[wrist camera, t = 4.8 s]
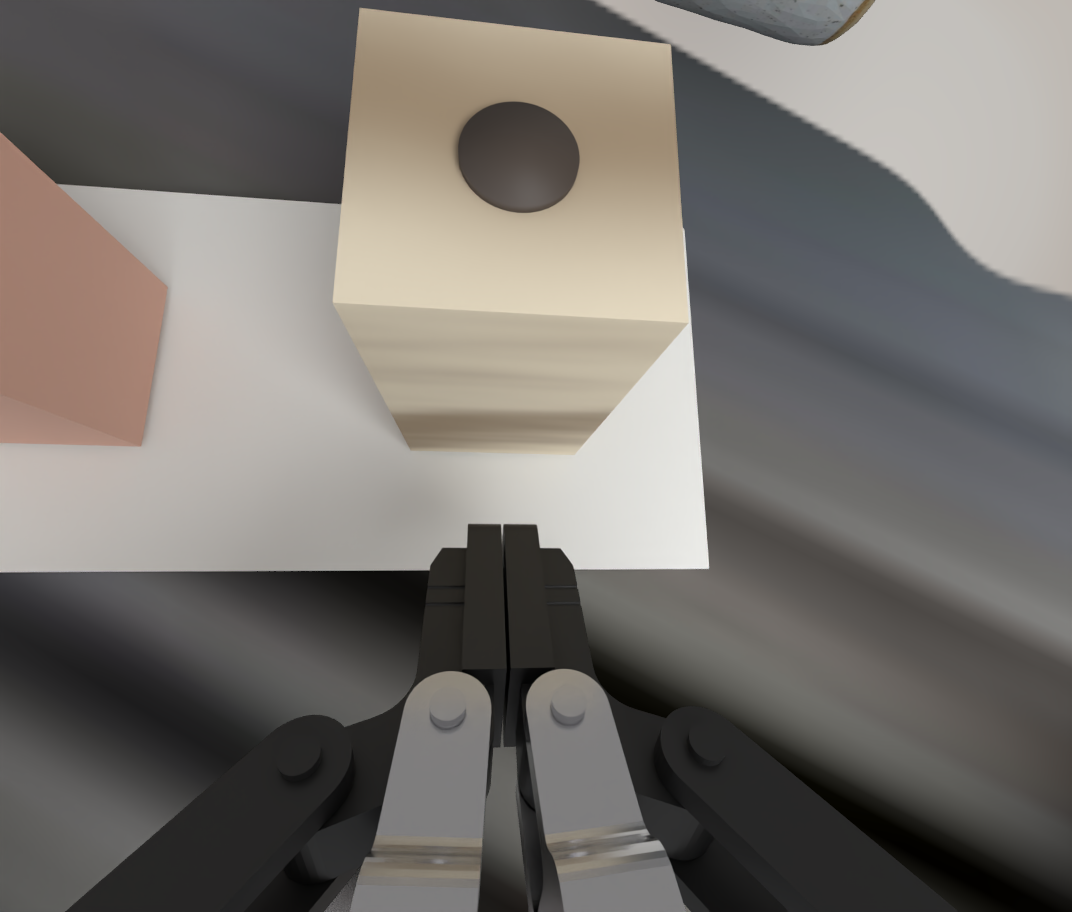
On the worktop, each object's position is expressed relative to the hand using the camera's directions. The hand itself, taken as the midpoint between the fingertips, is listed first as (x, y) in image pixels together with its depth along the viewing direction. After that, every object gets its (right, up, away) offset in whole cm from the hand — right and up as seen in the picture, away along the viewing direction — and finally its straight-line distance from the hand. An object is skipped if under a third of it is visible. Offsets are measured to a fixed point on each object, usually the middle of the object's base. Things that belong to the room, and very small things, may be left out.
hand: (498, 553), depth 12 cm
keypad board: (-7, +4, +6) cm, 10 cm away
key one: (0, +5, +5) cm, 7 cm away
